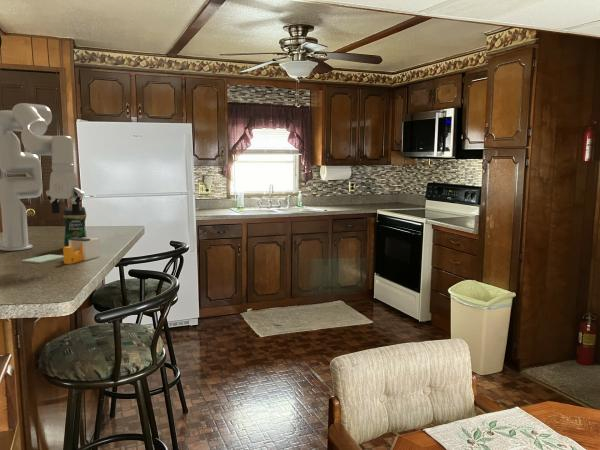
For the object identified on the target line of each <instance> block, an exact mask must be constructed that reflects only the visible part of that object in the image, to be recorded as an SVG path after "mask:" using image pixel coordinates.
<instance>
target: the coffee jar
mask: <svg viewBox="0 0 600 450" xmlns="http://www.w3.org/2000/svg"><path fill="white" fill-rule="evenodd" d="M79 208H80V214H72V206H65V207H64V208H63V213H62V214H63V215H62V217H63V219H64V240H63V246H64V247H69V240H70V239H69V238H73V237H76V238H88V237H87V230H86V229H87V228H86V219H87V212H86V207H84V206H79Z"/></svg>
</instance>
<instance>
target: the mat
mask: <svg viewBox="0 0 600 450" xmlns="http://www.w3.org/2000/svg"><path fill="white" fill-rule="evenodd" d="M62 259H64V255H61V254H45V255H41V256H35V257H31V258H26V259H22V260H21V261H22V262H24V263H32V264H33V263H34V264H44V263H48V262H53V261H57V260H62Z"/></svg>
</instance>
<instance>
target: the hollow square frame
mask: <svg viewBox="0 0 600 450" xmlns="http://www.w3.org/2000/svg"><path fill="white" fill-rule="evenodd" d="M69 239H70V240H69V247H73V251H74V252H75V251H79V250H80V248H81V243H82V247H83V260H82V261H88V260H92V259H96V258H100V257H101V246H100V245H101V243H100V238H96V237H94V238H93V237H87V238H76V237H73V238H69Z"/></svg>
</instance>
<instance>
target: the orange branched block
mask: <svg viewBox="0 0 600 450" xmlns="http://www.w3.org/2000/svg"><path fill="white" fill-rule="evenodd" d="M62 248H63V249H62V250H63V251H62V252H63V256H64V258H63V263H64V265H70V264H71V265H72V264H74V263H79V262H82V261H84V260H83V247H82V243H81V248H80V250H79V251H75V252H74V251H73V247H62Z"/></svg>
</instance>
